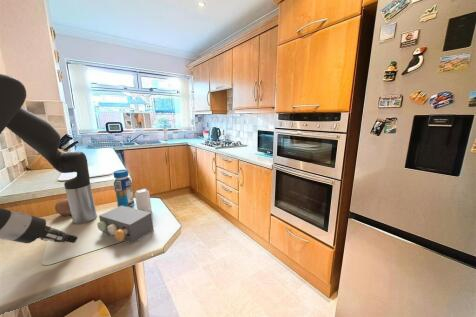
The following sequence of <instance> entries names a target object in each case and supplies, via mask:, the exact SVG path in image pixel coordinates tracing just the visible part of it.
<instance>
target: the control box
mask: <svg viewBox="0 0 476 317" xmlns="http://www.w3.org/2000/svg"><path fill="white" fill-rule="evenodd" d="M98 218H99V222H100V221H103V220H104V221H106V222H107V225H108V226H109V225H111V224H116V225H117V227H118V230H119V229H121V230H123V229H125V228H128V230H129V233H128V234H127V235H125V238H124V239H123V240H122V241H125V242H128V243H131V244H134V243H136V242H137V241H139V240H140V239H142V238H143V237H145V236H146V235H148V234H150V233H151V232H152V231H154V223H153V217H152V212H146V211H142V210H138V209H137V208H132V207H131V206H130V207H126V206H119V207H118V206H117V207H115V208H114V209H110V210H108V211H106V212H104V213H102V214H100V215H99V216H98ZM101 233H103V234H106V235H108V236H112V237H113V238H115V236H114V234H113V235H111V234H110V233H109V232H108V229H106V230H104V231H101Z"/></svg>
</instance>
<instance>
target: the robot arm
mask: <svg viewBox="0 0 476 317" xmlns="http://www.w3.org/2000/svg"><path fill="white" fill-rule="evenodd" d="M26 98H27V89H26V86H25V85H24V84H23V82H21V81H20V80H19V79H17V78H16V77H13V76H11V75H10V76H9V75H6V74H1V73H0V135H1V134H2V133H3V131H4V130H5V129H6V128H7V129H8V130H10V131H11V132H12V133H13V134H14V135H16V136H17V137H18V138H19V139H21V141H22V142H24V143H25V144H26V145H28V146H29V147H30V148H32V149H33V150H35V151H36V152H37V153H39V155H41V156H42V158H44V159H45V160H46V161H47V162H48V163H49V164H50V165H51V167H53V168H54V170H56V171H57V172H58V173H61V174H70V173H76V176H75V177H73V178H71V179H67V180H66V181H65V182H64V184H63V185H64V189H65V190H64V191H65V195H66V197H67V198H68V202H69V207H70V211H71V215H70V216H71V218H72V223H73V224H74V225H79V224H80V225H81V224H85V223H88V222H91V221H93V220H95V219H96V218H97V216H98V215H97V210H96V206H95V200H94V195H93V190H92V186H91V182H90V180H91V179H90V171H89V165H88V159H87V156H86V154H85V153H84V152H83V151H72V152H62V151H60V150H59V147H60V145H61V140H62V139H61V135H60V133H59V132H58V131H57V130H56V129H55V128H54V127H53V126H52V125H51V124H50V123H49V122H48V121H46V120H45V119H43V118H41V117H40V116H38V115H36V114H34V113H33V112H30V111H29V110H27V109H25V108H24V107H23V105H24V103H25V102H26ZM38 239H40V240H41V241H45V242H48V241H49V242H54V243H66V242H67V243H70V244H71V243H72V244H74V243H76V241H77V240H78V239H79V238H78V236H76V235H72V234H68V233H66V232H64V231H63V230H59V229H57V228H55V227H52V226H48V225H47V220H46V219H44V218H41V217H38V216H36V215H30V214H27V213H24V212H20V211H12V210H9V209H5V208H1V207H0V240H6V241H10V242H16V243H21V244H22V243H23V244H31V243H33V242H35V241H36V240H38Z"/></svg>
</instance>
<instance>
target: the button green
mask: <svg viewBox="0 0 476 317" xmlns="http://www.w3.org/2000/svg"><path fill="white" fill-rule="evenodd" d="M107 227H108V225H107V222H106V221H104V220H103V221H100V220H99V222H97V229H98V230H99V231H100V232H102V231H104V230H106V229H107Z"/></svg>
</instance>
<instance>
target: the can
mask: <svg viewBox="0 0 476 317" xmlns="http://www.w3.org/2000/svg"><path fill="white" fill-rule="evenodd" d="M134 198H135V203H136V204H135V206H136V209H138V210H142V211H146V212H150V213H152V203H151V195H150V191H149V189H148V188H143V187H142V188H139V189H137V190H135V194H134Z"/></svg>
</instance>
